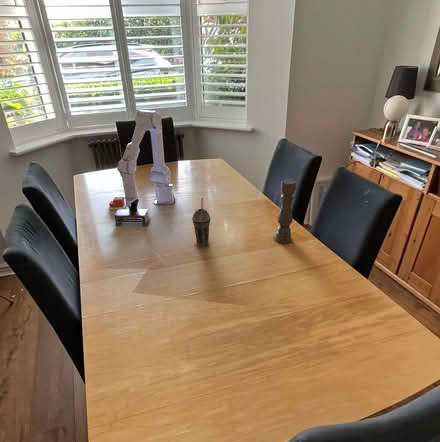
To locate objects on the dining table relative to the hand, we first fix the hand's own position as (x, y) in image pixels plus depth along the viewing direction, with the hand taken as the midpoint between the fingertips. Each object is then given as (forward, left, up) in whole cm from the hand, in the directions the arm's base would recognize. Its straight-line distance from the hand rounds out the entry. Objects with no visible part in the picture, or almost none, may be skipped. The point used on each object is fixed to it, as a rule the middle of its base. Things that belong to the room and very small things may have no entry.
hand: (134, 215), depth 172 cm
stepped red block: (+12, -12, -1) cm, 17 cm away
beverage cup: (-34, +27, -2) cm, 44 cm away
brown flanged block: (0, +5, -1) cm, 5 cm away
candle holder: (-68, +22, -2) cm, 72 cm away
